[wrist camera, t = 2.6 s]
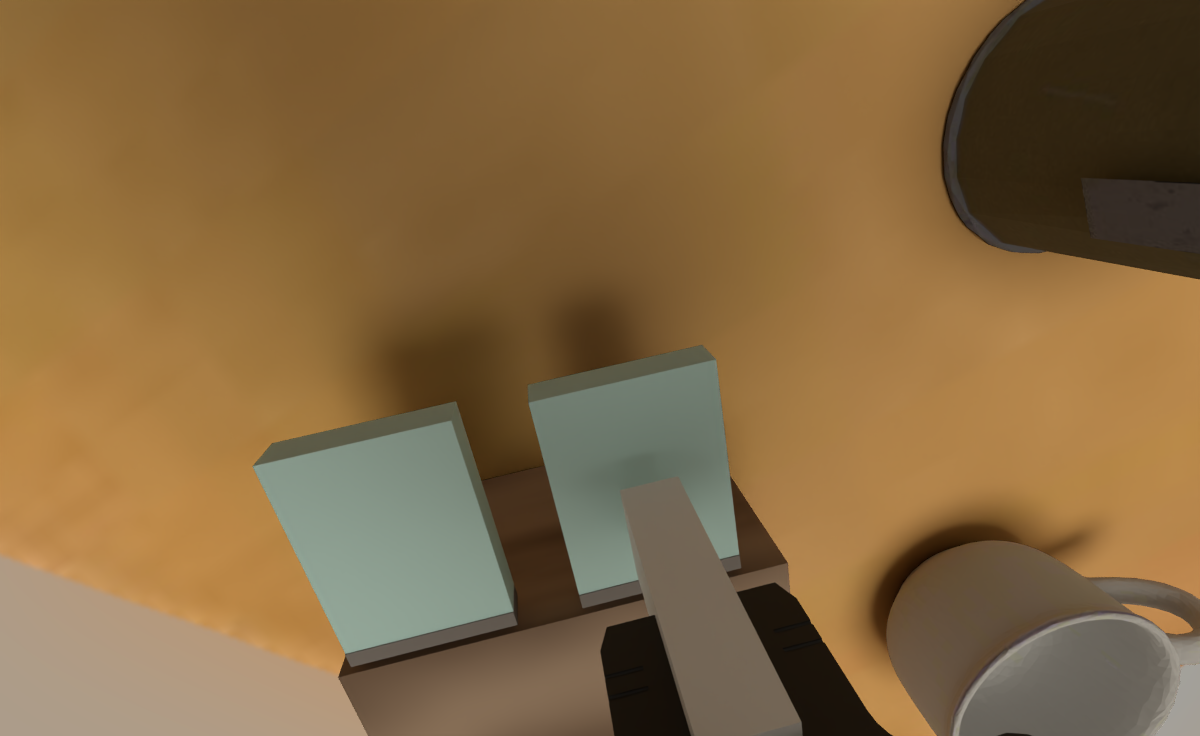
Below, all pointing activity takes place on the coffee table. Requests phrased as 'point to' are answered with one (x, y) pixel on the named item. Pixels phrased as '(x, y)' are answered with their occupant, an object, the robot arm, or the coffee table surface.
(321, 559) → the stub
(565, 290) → the coffee table surface
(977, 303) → the coffee table surface
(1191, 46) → the canister
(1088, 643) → the teacup
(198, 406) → the coffee table surface
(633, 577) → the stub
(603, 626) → the block
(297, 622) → the coffee table surface
